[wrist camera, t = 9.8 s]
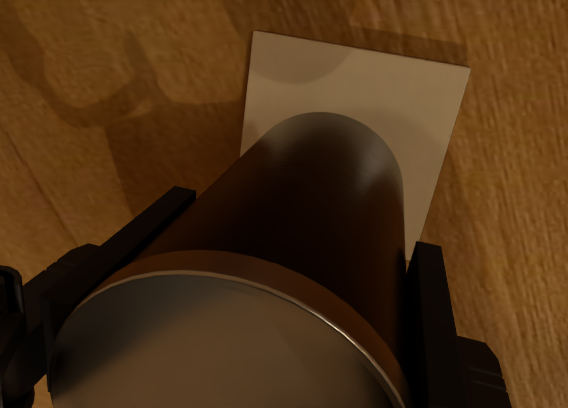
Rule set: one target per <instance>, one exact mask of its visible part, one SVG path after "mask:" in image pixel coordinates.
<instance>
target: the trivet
mask: <svg viewBox="0 0 568 408" xmlns="http://www.w3.org/2000/svg"><path fill="white" fill-rule="evenodd" d="M470 71H471V68H470V67H469V66H465V65H459V64H453V63H448V62H442V61H436V60H430V59H424V58H418V57H413V56H407V55H401V54H395V53H389V52H383V51H378V50H372V49H366V48H360V47H354V46H348V45H343V44H337V43H331V42H325V41H319V40H313V39H308V38H302V37H296V36H290V35H284V34H279V33H273V32H267V31H261V30H255V31H253V37H252V47H251V56H250V65H249V75H248V84H247V93H246V103H245V112H244V121H243V131H242V140H241V149H240V157H241V156H242V155H243V154H244V153H245V152H246V151H247V150H248V149H249V148H250V147H251V146H252V145H254V144H255V143H256V142H257V141H258V140H259V139H260V138H261V137H262V136H263V135H264V134H265V133H266V132H267V131H268V130H270V129H271V128H272V127H273V126H275V125H276V124H278V123H280V122H281V121H283V120H285V119H288V118H290V117H292V116H296V115H299V114H303V113H310V112H329V113H336V114H340V115H344V116H347V117H350V118H352V119H355V120H357V121H359V122H361V123H363V124H364V125H366V126H368V127H369V128H370V129H372V130H373V131H374V132H376V133H377V134H378V135H379V136H380V137H381V138H382V139H383V140H384V141H385V143H386V144H387V145H388V147H389V148H390V149H391V151H392V153H393V154H394V156H395V158H396V160H397V162H398V165H399V167H400V170H401V175H402V179H403V189H404V221H405V255H406V260H409V261H410V260H411V257H412V253H413V250H414V247H415V243H416V241H419V240H420V237H421V233H422V230H423V227H424V223H425V220H426V217H427V214H428V210H429V207H430V204H431V200H432V197H433V194H434V190H435V187H436V184H437V181H438V177H439V174H440V171H441V167H442V164H443V161H444V157H445V154H446V151H447V147H448V144H449V141H450V138H451V134H452V131H453V128H454V124H455V121H456V118H457V114H458V111H459V108H460V105H461V101H462V98H463V95H464V91H465V88H466V85H467V81H468V78H469V75H470Z"/></svg>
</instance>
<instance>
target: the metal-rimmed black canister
mask: <svg viewBox="0 0 568 408" xmlns="http://www.w3.org/2000/svg"><path fill="white" fill-rule="evenodd" d="M49 388H50V394H51V400H52V404H53V408H414V403H413V399H412V396H411V392H410V389H409V356H408V322H407V288H406V255H405V221H404V189H403V179H402V175H401V170H400V167H399V165H398V162H397V160H396V158H395V156H394V154H393V153H392V151H391V149H390V148H389V147H388V145H387V144H386V143H385V141H384V140H383V139H382V138H381V137H380V136H379V135H378V134H377V133H376V132H374V131H373V130H372V129H370V128H369V127H368V126H366V125H364V124H363V123H361V122H359V121H357V120H355V119H352V118H350V117H347V116H344V115H340V114H336V113H329V112H310V113H303V114H299V115H296V116H292V117H290V118H288V119H285V120H283V121H281V122H280V123H278V124H276V125H275V126H273V127H272V128H271V129H270V130H268V131H267V132H266V133H265V134H264V135H263V136H262V137H261V138H260V139H259V140H258V141H257V142H256V143H255V144H254V145H252V146H251V147H250V148H249V149H248V150H247V151H246V152H245V153H244V154H243V155H242V156H241V157H240V158H239V159H238V160H237V161H236V162H235V163H234V164H233V165H232V166H231V167H229V168H228V169H227V170H226V171H225V172H224V173H223V174H222V175H221V176H220V177H219V178H218V179H217V180H216V181H215V182H214V183H213V184H212V185H211V186H210V187H209V188H208V189H207V190H205V191H204V192H203V193H202V194H201V195H200V196H199V197H198V198H197V199H196V200H195V201H194V202H193V203H192V204H191V205H190V206H189V207H188V208H187V209H186V210H185V211H184V212H182V213H181V214H180V215H179V216H178V217H177V218H176V219H175V220H174V221H173V222H172V223H171V224H170V225H169V226H168V227H167V228H166V229H165V230H164V231H163V232H162V233H161V234H160V235H158V236H157V237H156V238H155V239H154V240H153V241H152V242H151V243H150V244H149V245H148V246H147V247H146V248H145V249H144V250H143V251H142V252H141V253H140V254H139V255H138V256H137V257H135V258H134V259H133V260H132V261H131V262H130V263H129V264H128V265H127V266H126V267H124V268H122V269H120V270H118V271H117V272H115V273H113V274H112V275H111V276H110V277H108V278H107V279H106V280H105V281H103V282H102V283H101V284H100V285H99V286H98V287H96V288H95V289H94V290H93V291H92V292H91V293H90V294H89V295H88V296H87V297H86V298H85V299H84V300H82V301H81V302H80V303H79V304H78V305H77V307H76V308H75V309H74V310H73V311H72V312H71V313H70V315H69V316H68V317H67V318H66V320H65V321H64V323H63V325H62V327H61V328H60V330H59V332H58V334H57V337H56V340H55V342H54V345H53V348H52V351H51V357H50V364H49Z"/></svg>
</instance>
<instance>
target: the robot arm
mask: <svg viewBox="0 0 568 408" xmlns="http://www.w3.org/2000/svg"><path fill="white" fill-rule="evenodd" d="M195 200H196V190H191V189H187V188H183V187H178V186H174V187H173V188H172V189H170V190H169V191H168V192H167V193H165V194H164V195H163V196H162V197H161V198H159V199H158V200H157V201H156V202H154V203H153V204H152V205H151V206H149V207H148V208H147V209H146V210H144V211H143V212H142V213H141V214H139V215H138V216H137V217H136V218H134V219H133V220H132V221H131V222H129V223H128V224H127V225H126V226H125V227H123V228H122V229H121V230H120V231H118V232H117V233H116V234H115V235H113V236H112V237H111V238H110V239H108V240H107V241H106V242H105V243H103V244H102V245H101V246H97V245H93V244H89V243H88V244H86V245H83V246H80V247H78V248H75V249H72V250H70V251H69V252H67V253H66V254H65V255H63V256H62V257H61V258H59V259H58V260H57V262H54V263H53V264H51V265H50V266H49V267H47V269H46V271H45V270H43V271H42V272H41V273H39V274H38V275H37V276H35V277H34V278H33V279H31V280H30V281H29V282H27V283H26V284H25V285H22V277H21V275H20V273H19V272H18V271H17V270H15V269H13V268H11V267H8V266H2V265H0V408H31V407H32V405H33V403H34V396H35V391H34V385H35V384H36V383H37V382H38V381H39V380H40V379H41V378H42V377H43V376H44V375H45V374H46V376H47V386H48V392H50V388H49V364H50V357H51V351H52V348H53V345H54V342H55V340H56V337H57V334H58V332H59V330H60V328H61V327H62V325H63V323H64V321H65V320H66V318H67V317H68V316H69V315H70V313H71V312H72V311H73V310H74V309H75V308H76V307H77V305H78V304H79V303H80V302H81V301H82V300H84V299H85V298H86V297H87V296H88V295H89V294H90V293H91V292H92V291H93V290H94V289H95V288H96V287H98V286H99V285H100V284H101V283H102V282H103V281H105V280H106V279H107V278H108V277H110V276H111V275H112V274H113V273H115V272H117V271H118V270H120V269H122V268H124V267H126V266H127V265H128V264H129V263H130V262H131V261H132V260H133V259H134V258H135V257H137V256H138V255H139V254H140V253H141V252H142V251H143V250H144V249H145V248H146V247H147V246H148V245H149V244H150V243H151V242H152V241H153V240H154V239H155V238H156V237H157V236H158V235H160V234H161V233H162V232H163V231H164V230H165V229H166V228H167V227H168V226H169V225H170V224H171V223H172V222H173V221H174V220H175V219H176V218H177V217H178V216H179V215H180V214H181V213H182V212H184V211H185V210H186V209H187V208H188V207H189V206H190V205H191V204H192V203H193V202H194V201H195ZM406 288H407V322H408V356H409V389H410V392H411V396H412V399H413V403H414V408H512V407H511V403H510V400H509V396H508V393H507V392H506V386H505V382H504V379H502V376H503V375H502V372H501V368H500V364H499V361H498V358H497V357H496V356H495V355H494V353H493V352H492V351H491V349H490V348H489V347H488V345H487V344H486V343H484V342H480V341H476V340H472V339H468V338H464V337H461V336H457V333H456V328H455V322H454V316H453V311H452V305H451V299H450V294H449V288H448V283H447V277H446V271H445V266H444V260H443V254H442V249H441V246H437V245H433V244H428V243H424V242H420V241H416V243H415V247H414V250H413V253H412V257H411V260H410V263H409V267H408V270H407V273H406Z"/></svg>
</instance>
